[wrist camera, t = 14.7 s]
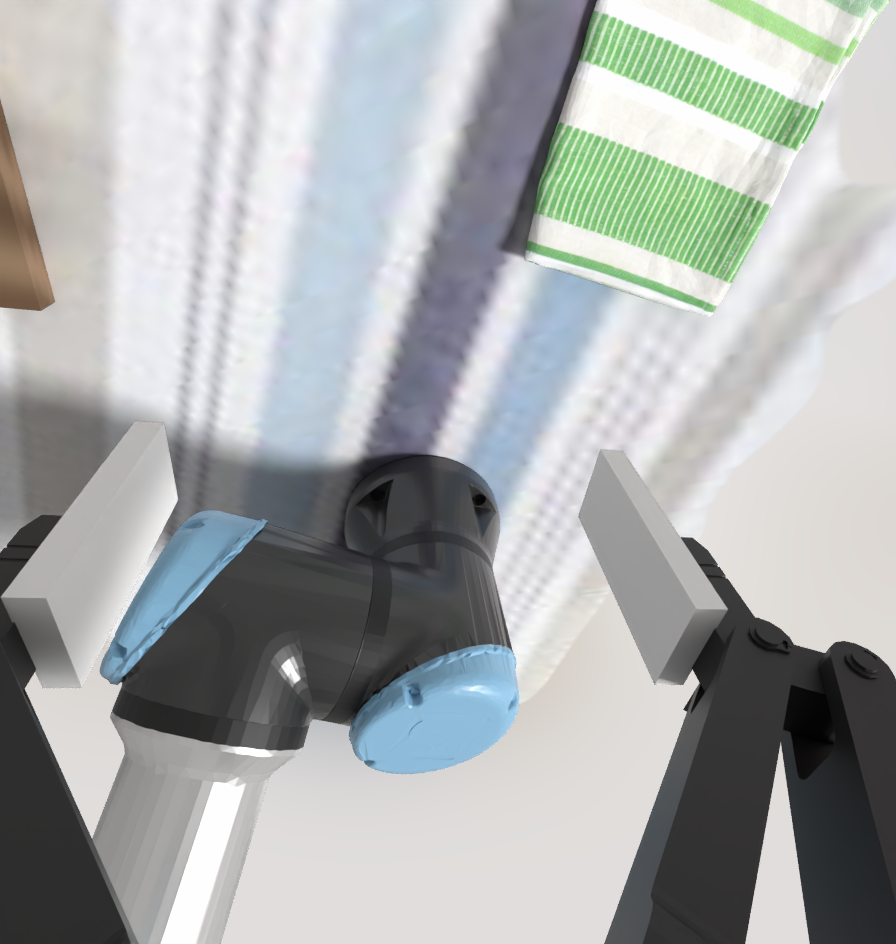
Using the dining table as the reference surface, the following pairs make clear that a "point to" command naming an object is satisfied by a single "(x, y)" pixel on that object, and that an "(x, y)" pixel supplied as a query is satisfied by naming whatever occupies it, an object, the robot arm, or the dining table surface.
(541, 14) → the dining table surface
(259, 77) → the dining table surface
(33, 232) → the gear board
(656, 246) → the dish towel
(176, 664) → the robot arm
